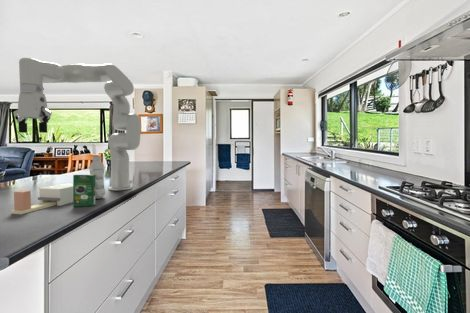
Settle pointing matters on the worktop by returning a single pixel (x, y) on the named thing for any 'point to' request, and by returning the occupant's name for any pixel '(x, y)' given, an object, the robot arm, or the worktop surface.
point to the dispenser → (57, 194)
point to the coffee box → (83, 190)
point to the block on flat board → (27, 203)
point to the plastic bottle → (98, 176)
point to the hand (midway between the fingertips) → (33, 132)
